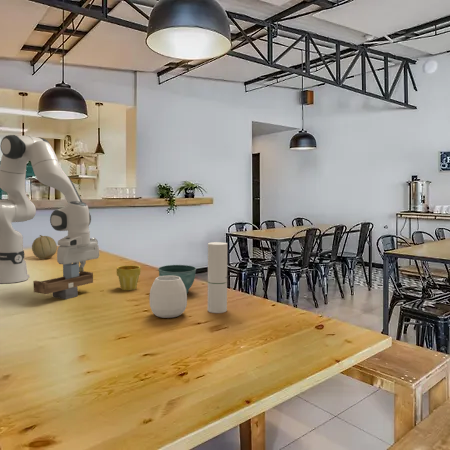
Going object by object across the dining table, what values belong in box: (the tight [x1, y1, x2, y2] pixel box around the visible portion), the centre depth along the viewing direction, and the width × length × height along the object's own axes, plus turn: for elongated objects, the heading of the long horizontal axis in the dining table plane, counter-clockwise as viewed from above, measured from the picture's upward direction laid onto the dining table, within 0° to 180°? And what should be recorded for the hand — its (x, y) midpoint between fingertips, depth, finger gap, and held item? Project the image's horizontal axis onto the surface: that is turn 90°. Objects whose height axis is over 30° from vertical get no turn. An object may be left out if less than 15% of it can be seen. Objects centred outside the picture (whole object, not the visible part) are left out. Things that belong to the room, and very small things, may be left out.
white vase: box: [149, 275, 188, 319], centre depth 149 cm, size 13×13×14 cm
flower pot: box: [157, 264, 197, 294], centre depth 182 cm, size 16×16×11 cm
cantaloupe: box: [31, 234, 58, 260], centre depth 266 cm, size 15×15×15 cm
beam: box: [32, 271, 94, 300], centre depth 174 cm, size 8×24×8 cm, turn 151°
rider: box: [62, 263, 80, 280], centre depth 176 cm, size 5×4×7 cm
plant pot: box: [116, 264, 141, 291], centre depth 188 cm, size 10×10×10 cm
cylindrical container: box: [207, 241, 228, 314], centre depth 155 cm, size 7×7×25 cm
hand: (79, 271), depth 180 cm, fingers closed
